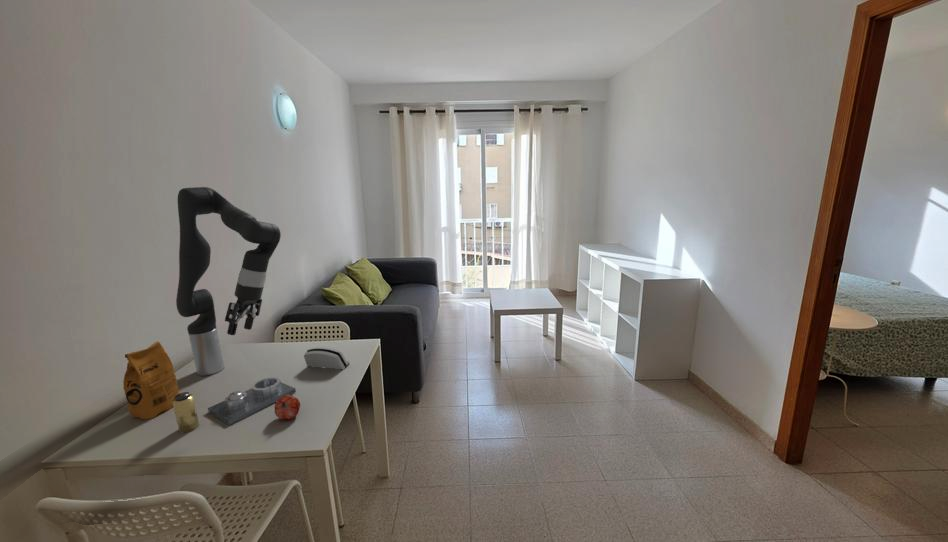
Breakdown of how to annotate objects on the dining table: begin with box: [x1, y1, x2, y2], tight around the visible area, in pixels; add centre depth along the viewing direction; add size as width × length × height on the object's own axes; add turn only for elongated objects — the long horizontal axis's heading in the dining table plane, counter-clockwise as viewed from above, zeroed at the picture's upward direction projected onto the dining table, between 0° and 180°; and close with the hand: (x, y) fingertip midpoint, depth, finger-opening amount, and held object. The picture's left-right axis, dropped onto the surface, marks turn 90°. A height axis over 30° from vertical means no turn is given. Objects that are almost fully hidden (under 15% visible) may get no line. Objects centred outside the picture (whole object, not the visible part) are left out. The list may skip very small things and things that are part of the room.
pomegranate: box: [274, 394, 301, 420], centre depth 121 cm, size 7×7×10 cm
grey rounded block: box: [303, 346, 350, 370], centre depth 154 cm, size 17×5×10 cm, turn 77°
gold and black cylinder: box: [172, 391, 200, 433], centre depth 117 cm, size 5×5×11 cm
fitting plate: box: [207, 376, 297, 426], centre depth 131 cm, size 14×22×6 cm, turn 147°
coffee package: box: [122, 341, 180, 420], centre depth 127 cm, size 10×12×22 cm
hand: (239, 331), depth 125 cm, fingers open, 8 cm apart
